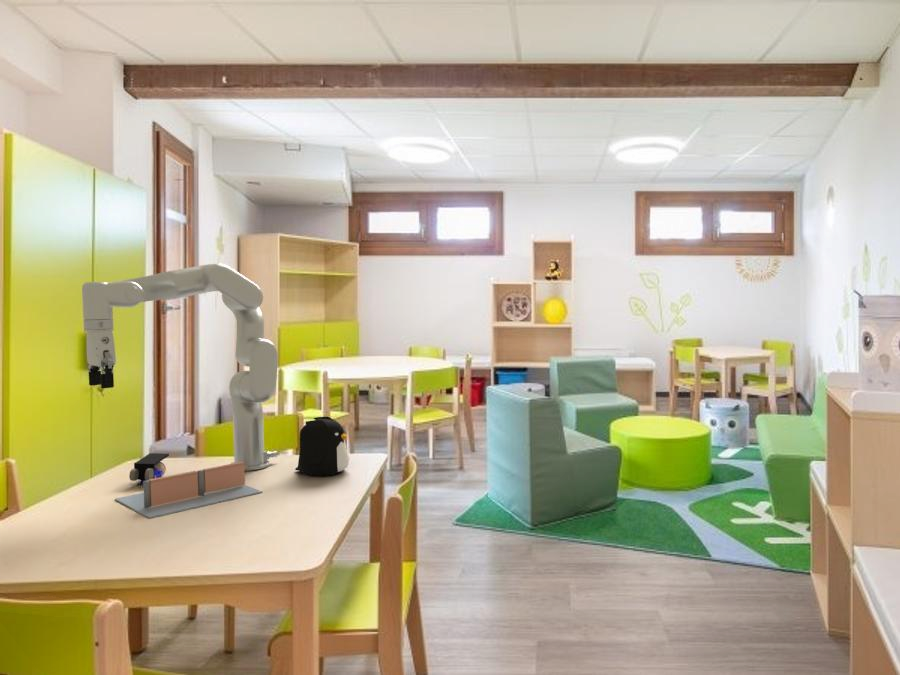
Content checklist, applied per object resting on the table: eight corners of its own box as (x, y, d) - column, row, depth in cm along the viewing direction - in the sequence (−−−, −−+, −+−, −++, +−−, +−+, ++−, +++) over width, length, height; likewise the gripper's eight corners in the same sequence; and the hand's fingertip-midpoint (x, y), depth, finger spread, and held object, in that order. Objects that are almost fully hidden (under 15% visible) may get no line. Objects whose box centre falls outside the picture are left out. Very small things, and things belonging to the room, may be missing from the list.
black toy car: (152, 492, 211) (171, 473, 225) (150, 467, 209) (169, 450, 224) (129, 492, 210) (150, 474, 225) (127, 468, 209) (147, 451, 224)
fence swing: (206, 493, 200) (205, 470, 199) (203, 492, 201) (202, 469, 200) (245, 484, 208) (244, 462, 208) (242, 483, 209) (241, 461, 209)
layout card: (222, 477, 220) (222, 476, 220) (262, 492, 203) (262, 490, 203) (114, 499, 198) (114, 498, 198) (149, 518, 181) (149, 516, 181)
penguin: (339, 480, 215) (338, 423, 214) (283, 478, 218) (282, 422, 217) (357, 466, 233) (356, 413, 232) (305, 464, 236) (304, 412, 235)
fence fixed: (202, 495, 201) (201, 469, 200) (205, 496, 200) (204, 470, 199) (143, 508, 189) (142, 480, 189) (145, 509, 188) (144, 481, 188)
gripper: (124, 326, 196) (126, 387, 197) (101, 324, 209) (104, 382, 210) (95, 327, 191) (97, 390, 192) (74, 325, 203) (77, 385, 204)
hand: (101, 386), depth 201 cm, fingers open, 9 cm apart
